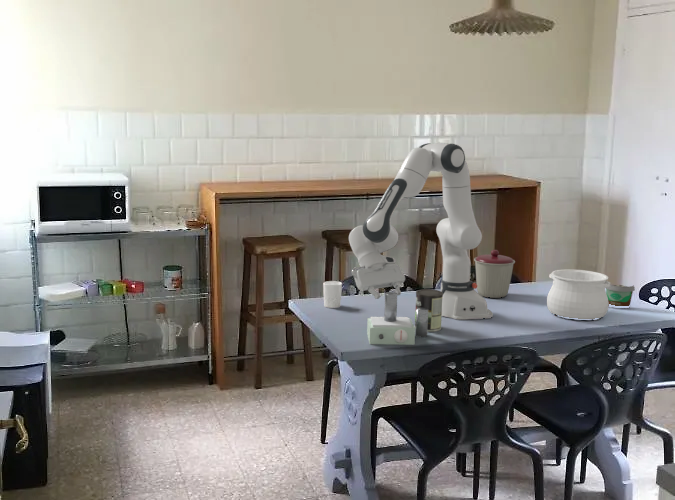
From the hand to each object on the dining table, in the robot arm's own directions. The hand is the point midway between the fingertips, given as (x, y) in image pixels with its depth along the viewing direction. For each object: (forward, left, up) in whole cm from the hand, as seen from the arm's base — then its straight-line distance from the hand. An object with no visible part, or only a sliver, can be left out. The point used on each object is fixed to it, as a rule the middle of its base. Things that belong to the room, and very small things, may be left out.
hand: (388, 296), depth 284 cm
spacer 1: (-1, +2, -8) cm, 9 cm away
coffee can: (-17, -12, -16) cm, 26 cm away
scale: (-1, +3, -15) cm, 16 cm away
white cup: (+19, -43, -16) cm, 50 cm away
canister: (-54, -65, -16) cm, 86 cm away
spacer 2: (-13, -2, -15) cm, 20 cm away
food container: (-104, -46, -16) cm, 115 cm away
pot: (-82, -34, -16) cm, 90 cm away
